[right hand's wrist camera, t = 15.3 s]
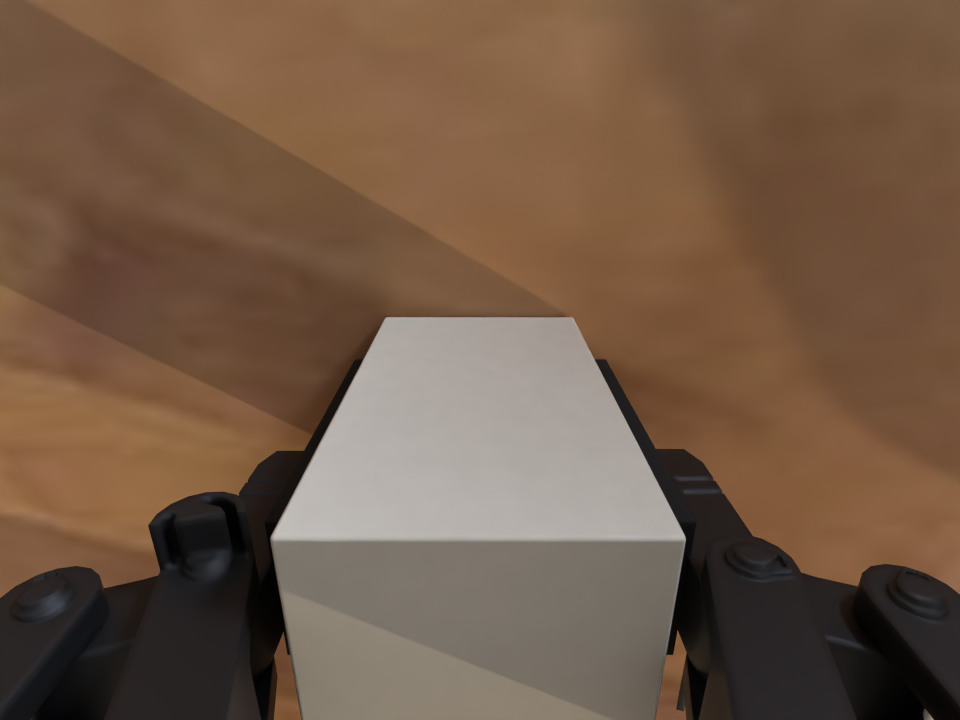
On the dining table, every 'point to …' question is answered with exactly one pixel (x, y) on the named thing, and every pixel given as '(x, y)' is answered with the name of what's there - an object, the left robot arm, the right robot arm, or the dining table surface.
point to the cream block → (478, 536)
